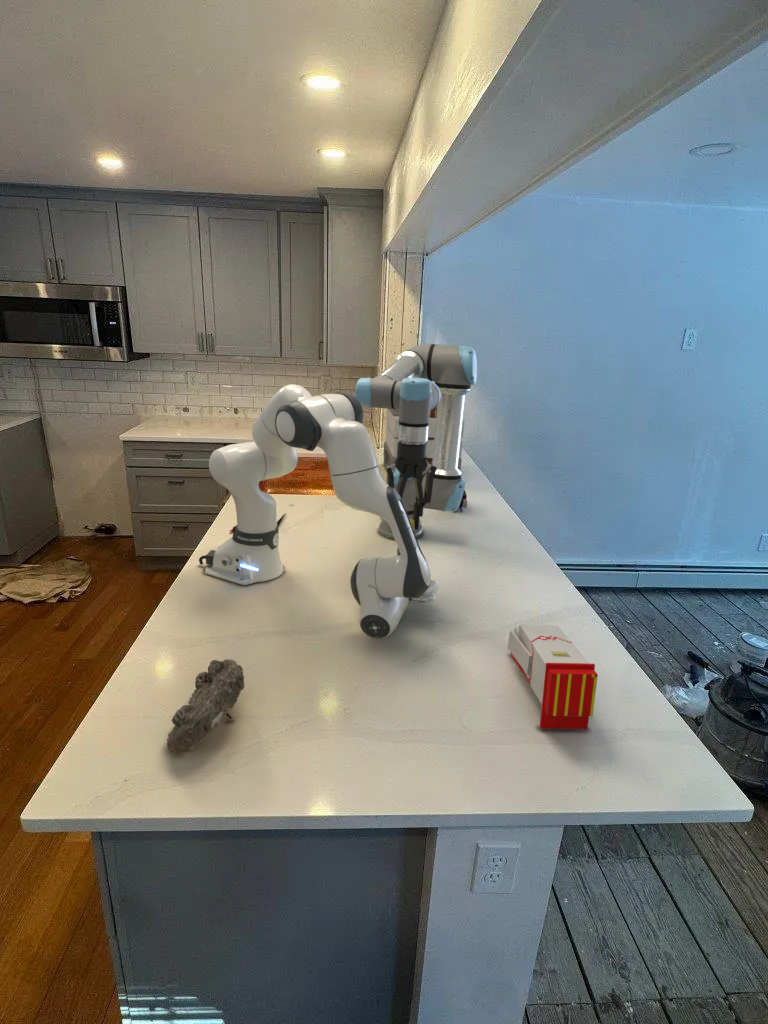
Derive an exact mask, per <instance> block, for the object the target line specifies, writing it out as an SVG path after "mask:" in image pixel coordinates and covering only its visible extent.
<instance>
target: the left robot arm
mask: <svg viewBox="0 0 768 1024" xmlns="http://www.w3.org/2000/svg"><path fill="white" fill-rule="evenodd" d="M363 422H364V411H363V406H361V404H360V402H359V401H358V399H357V398H356V397H355V395H353V394H351V393H347V392H341V391H340V392H337V391H336V392H332V393H323V394H316V395H315V394H314V395H313V396H312V394H311V392H309V390H307V389H306V388H305V387H303V386H302V385H299V384H294V383H292V384H291V383H289V384H286V385H284V386H283V387H281V388H279V390H277V392H275V394H274V395H272V397H271V398H270V399H269V400H268V402H267V403H266V405H265V406H264V407H263V409H262V410H261V411H260V414H259V415H258V417H257V418H256V420H255V421H254V423H253V425H252V427H251V436H252V441H246V442H238V443H232V444H231V443H230V444H229V445H225V446H222V447H219V448H218V449H215V450H213V451H212V453H211V454H210V457H209V460H208V470H209V473H210V475H211V477H212V479H213V480H214V481H215V482H216V483H217V484H219V485H220V486H221V487H224V488H225V489H226V490H227V491H228V492H229V494H230V495H231V497H232V499H233V501H234V505H235V515H236V525H234V526H233V527H232V528H231V529H230V530H229V531H228V532H229V534H228V535H232V537H230V538H229V539H228V540H226V541H225V542H224V543H222V544H220V545H219V546H218V547H217V548H216V550H214V549H211V550H209V552H207V553H206V554H205V555H202V556H200V557H199V558H198V562H199V565H204V562H203V560H205V564H206V567H205V571H204V572H205V574H206V575H209V576H213V577H216V578H218V579H222V580H225V581H227V582H228V581H229V582H231V583H235V584H238V585H242V586H247V585H251V584H255V583H260V582H261V583H262V582H268V581H271V580H274V579H277V578H278V577H280V576H281V575H282V574H283V573H284V567H283V564H282V561H281V557H280V550H279V544H280V543H279V541H280V538H279V537H280V534H279V533H280V532H279V526H278V525H277V524H278V523H277V522H278V519H277V503H276V500H275V499H274V497H273V496H272V495H270V494H269V493H267V492H266V491H262V490H261V489H260V482H261V481H262V482H263V481H267V480H271V479H278V478H281V477H283V476H285V475H288V474H290V473H292V472H294V470H295V469H296V468H297V465H298V462H299V455H298V451H297V449H302V450H306V451H308V452H309V451H310V452H313V451H314V450H315V449H316V448H317V447H318V448H320V450H322V451H323V453H324V454H325V455H326V459H327V462H328V463H327V464H328V470H329V475H330V480H331V485H332V488H333V491H334V493H335V496H336V498H337V499H338V500H339V501H340V502H341V503H342V504H344V505H345V506H347V507H349V508H351V509H353V510H356V511H361V512H365V513H369V514H371V515H375V516H378V517H379V518H381V519H384V520H385V521H387V523H388V524H389V525H390V527H391V530H392V533H393V535H394V538H395V539H394V540H395V543H396V546H397V547H398V549H399V551H400V554H401V555H400V556H397V555H391V556H384V557H383V556H382V557H381V556H378V557H369V558H361V559H359V561H358V562H357V563H356V564H355V566H354V568H353V570H352V572H351V575H350V580H349V581H350V582H349V583H350V589H351V592H352V595H353V599H354V600H355V602H357V604H358V605H359V607H360V615H359V626H360V629H361V631H362V632H363V634H365V635H366V636H368V637H370V638H372V639H385V638H387V637H389V636H390V635H391V634H392V633H393V632H394V631H395V629H397V626H398V625H399V623H400V621H401V619H402V617H403V614H404V613H405V611H406V609H407V607H408V605H409V603H416V604H417V603H418V604H424V605H426V604H430V603H433V602H434V601H435V599H436V596H437V594H438V588H439V587H438V586H439V584H438V582H437V581H436V580H434V579H432V574H431V569H430V566H429V564H428V561H427V559H426V557H425V555H424V553H423V551H422V549H421V547H420V544H419V541H418V538H416V536H415V533H414V530H413V527H412V525H411V522H410V519H409V517H408V514H407V511H406V509H405V506H404V504H403V502H402V499H401V497H400V495H399V493H398V492H397V490H396V489H395V488H393V487H390V486H389V485H388V484H387V483H386V482H387V481H386V480H385V479H384V478H383V475H382V473H381V472H380V468H379V463H378V459H377V455H376V451H375V450H376V449H375V447H374V444H373V441H372V438H371V436H370V434H369V431H368V429H367V427H366V426H365V425H364V424H363Z"/></svg>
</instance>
